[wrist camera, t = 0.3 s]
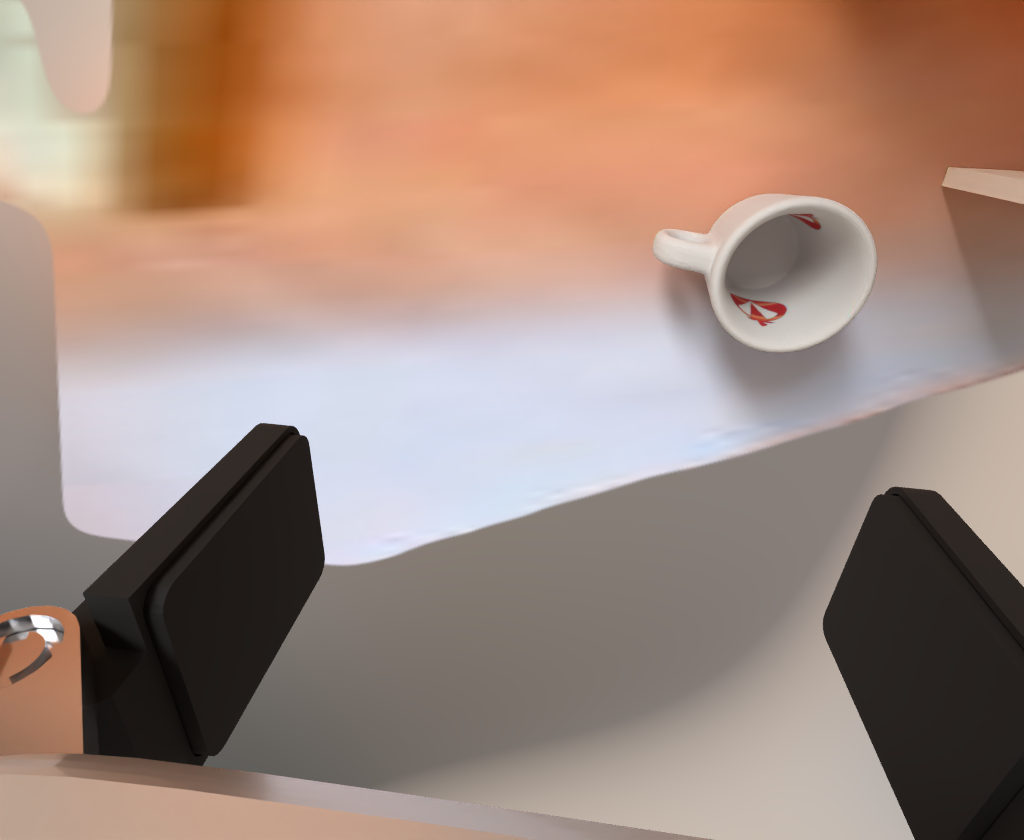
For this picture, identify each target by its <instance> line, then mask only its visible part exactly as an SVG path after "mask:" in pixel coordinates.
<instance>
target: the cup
mask: <svg viewBox="0 0 1024 840" xmlns="http://www.w3.org/2000/svg"><path fill="white" fill-rule="evenodd" d="M653 254H654V256H655V257H656V258H657V259H658V260H659V261H661V262H663V263H665V264H667V265H670V266H673V267H676V268H680V269H684V270H689V271H694V272H698V273H701V274H704V277H705V281H706V285H707V288H708V292H709V296H710V300H711V304H712V307H713V310H714V313H715V315H716V317H717V319H718V321H719V322H720V324H721V325H722V327H723V328H724V329H725V330H726V331H727V333H728V334H730V335H731V336H732V337H733V338H734V339H736V340H737V341H739V342H740V343H742V344H744V345H746V346H748V347H750V348H753V349H756V350H760V351H764V352H773V353H786V352H794V351H799V350H803V349H806V348H810V347H812V346H815V345H817V344H819V343H822V342H824V341H825V340H827V339H829V338H831V337H832V336H834V335H835V334H837V333H838V332H839V331H841V330H842V329H843V328H844V327H845V326H846V325H848V324H849V323H850V322H851V320H852V319H853V318H854V317H855V316H856V315H857V314H858V312H859V311H860V310H861V308H862V307H863V305H864V303H865V302H866V300H867V298H868V296H869V294H870V292H871V290H872V287H873V284H874V280H875V276H876V271H877V253H876V246H875V243H874V239H873V237H872V234H871V232H870V231H869V229H868V227H867V226H866V224H865V223H864V221H863V220H862V219H861V218H860V217H859V216H858V215H857V214H856V213H855V212H853V211H852V210H851V209H849V208H848V207H846V206H845V205H843V204H841V203H838V202H836V201H833V200H830V199H826V198H821V197H813V196H801V195H788V194H761V195H756V196H752V197H749V198H746V199H744V200H742V201H740V202H738V203H736V204H735V205H733V206H731V207H730V208H729V209H728V210H726V211H725V212H724V213H723V214H722V215H721V216H720V217H719V218H718V219H717V220H716V222H715V223H714V225H713V226H712V228H711V229H710V231H709V233H708V234H700V233H694V232H689V231H683V230H677V229H663V230H661V231H659V232H658V233H657V235H656V237H655V240H654V243H653Z"/></svg>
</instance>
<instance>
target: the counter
mask: <svg viewBox="0 0 1024 840" xmlns="http://www.w3.org/2000/svg"><path fill="white" fill-rule="evenodd" d="M942 186H945V187H949V188H954V189H958V190H963V191H967V192H971V193H976V194H980V195H985V196H989V197H994V198H998V199H1003V200H1007V201H1012V202H1016V203H1021V204H1024V171H1014V170H995V169H976V168H957V167H948V169H947V172H946V175H945V178H944V180H943V183H942Z"/></svg>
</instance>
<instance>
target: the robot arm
mask: <svg viewBox="0 0 1024 840" xmlns="http://www.w3.org/2000/svg"><path fill="white" fill-rule="evenodd" d="M324 561H325V554H324V547H323V540H322V533H321V526H320V519H319V511H318V504H317V497H316V490H315V483H314V476H313V468H312V461H311V454H310V447H309V442H308V439H307V437H305V436H302V435H300V434H299V432H298V430H297V428H295V427H294V426H286V425H276V424H266V423H260V424H258V425H257V426H255V427H254V428H253V429H252V430H251V431H250V432H249V433H248V434H247V435H246V436H245V437H244V438H243V439H242V440H241V441H240V442H239V443H238V444H237V445H236V446H235V447H234V448H233V449H232V450H231V451H230V452H228V453H227V454H226V455H225V456H224V457H223V458H222V459H221V460H220V461H219V462H218V463H217V464H216V465H215V466H214V467H213V468H212V469H211V470H210V471H209V472H208V473H207V474H206V475H205V476H204V477H203V478H202V479H200V480H199V481H198V482H197V483H196V484H195V485H194V486H193V487H192V488H191V489H190V490H189V491H188V492H187V493H186V494H185V495H184V496H183V497H182V498H181V499H180V500H179V501H178V502H177V503H176V504H175V505H174V506H173V507H171V508H170V509H169V510H168V511H167V512H166V513H165V514H164V515H163V516H162V517H161V518H160V519H159V520H158V521H157V522H156V523H155V524H154V525H153V526H152V527H151V528H150V529H149V530H148V531H147V532H146V533H145V534H143V535H142V536H141V537H140V538H139V539H138V540H137V541H136V542H135V543H134V544H133V545H132V546H131V547H130V548H129V549H128V550H127V551H126V552H125V553H124V554H123V555H122V556H121V557H120V558H119V559H118V560H117V561H116V562H115V563H113V564H112V565H111V566H110V567H109V568H108V569H107V570H106V571H105V572H104V573H103V574H102V575H101V576H100V577H99V578H98V579H97V580H96V581H95V582H94V583H93V584H92V585H91V586H90V587H89V588H88V589H87V590H85V591H84V592H83V595H84V597H85V601H84V602H83V603H81V604H80V605H79V606H78V608H76V609H75V610H74V611H73V612H72V613H71V612H70V611H68V610H67V609H64V608H60V607H55V606H33V607H27V608H23V609H19V610H14V611H10V612H7V613H5V614H2V615H0V840H711V839H705V838H698V837H691V836H684V835H678V834H671V833H665V832H658V831H651V830H645V829H638V828H632V827H625V826H617V825H612V824H604V823H598V822H592V821H585V820H578V819H571V818H565V817H558V816H551V815H544V814H537V813H530V812H524V811H517V810H511V809H504V808H496V807H491V806H484V805H477V804H470V803H463V802H456V801H450V800H443V799H436V798H429V797H421V796H415V795H408V794H400V793H394V792H387V791H380V790H373V789H366V788H359V787H352V786H345V785H337V784H331V783H324V782H317V781H310V780H303V779H296V778H289V777H282V776H275V775H268V774H262V773H254V772H246V771H238V770H229V769H221V768H213V767H205V766H203V764H204V762H205V761H206V759H207V757H208V755H209V756H215V755H217V754H218V753H219V752H220V751H221V750H222V748H223V747H224V745H225V744H226V742H227V740H228V738H229V737H230V735H231V733H232V731H233V730H234V728H235V726H236V724H237V723H238V721H239V719H240V717H241V716H242V714H243V712H244V710H245V709H246V707H247V705H248V703H249V702H250V699H251V698H252V696H253V694H254V693H255V691H256V689H257V687H258V685H259V684H260V682H261V680H262V678H263V677H264V675H265V673H266V672H267V670H268V668H269V666H270V665H271V663H272V661H273V659H274V658H275V656H276V654H277V652H278V651H279V649H280V647H281V645H282V643H283V642H284V640H285V638H286V636H287V635H288V633H289V631H290V629H291V627H292V626H293V624H294V622H295V621H296V619H297V617H298V615H299V614H300V612H301V610H302V608H303V606H304V604H305V603H306V601H307V599H308V598H309V596H310V594H311V592H312V591H313V589H314V587H315V585H316V584H317V582H318V580H319V578H320V576H321V574H322V571H323V568H324ZM823 631H824V635H825V638H826V641H827V643H828V645H829V648H830V650H831V652H832V654H833V657H834V658H835V661H836V663H837V665H838V668H839V670H840V672H841V674H842V677H843V679H844V681H845V683H846V685H847V688H848V690H849V692H850V695H851V697H852V699H853V701H854V704H855V706H856V708H857V710H858V712H859V715H860V717H861V719H862V722H863V724H864V726H865V728H866V731H867V733H868V735H869V737H870V739H871V742H872V744H873V746H874V748H875V751H876V753H877V755H878V758H879V760H880V762H881V764H882V767H883V769H884V771H885V773H886V776H887V778H888V780H889V782H890V784H891V787H892V789H893V791H894V793H895V796H896V798H897V800H898V802H899V805H900V807H901V809H902V811H903V814H904V816H905V818H906V820H907V823H908V825H909V827H910V829H911V832H912V834H913V836H914V838H915V840H1024V587H1023V586H1022V585H1021V584H1020V583H1019V581H1018V580H1017V579H1016V578H1015V577H1014V576H1013V575H1012V574H1011V572H1010V571H1008V569H1007V568H1006V567H1005V566H1004V565H1003V564H1002V563H1001V561H1000V560H998V558H997V557H996V556H995V555H994V554H993V553H992V551H991V550H990V549H989V548H988V547H987V546H986V545H985V544H984V543H983V542H982V540H981V539H980V538H979V537H978V536H977V535H976V534H975V533H974V532H973V531H972V529H971V528H970V527H969V526H968V525H967V524H966V523H965V522H964V521H963V519H962V518H961V517H960V516H959V515H958V514H957V513H956V512H955V511H954V509H953V508H952V507H951V506H950V505H949V504H948V503H947V502H946V501H945V500H944V498H943V497H942V496H941V495H940V494H938V493H937V492H935V491H931V490H923V489H913V488H903V487H892V488H890V489H889V490H888V491H886V493H885V494H884V495H882V494H881V495H877V496H876V497H875V498H874V500H873V502H872V504H871V506H870V508H869V511H868V513H867V516H866V518H865V520H864V522H863V525H862V527H861V529H860V532H859V534H858V536H857V539H856V541H855V544H854V546H853V548H852V551H851V553H850V555H849V558H848V560H847V562H846V565H845V567H844V569H843V572H842V574H841V577H840V579H839V581H838V583H837V586H836V588H835V591H834V593H833V595H832V598H831V600H830V602H829V605H828V607H827V609H826V612H825V615H824V618H823Z"/></svg>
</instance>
